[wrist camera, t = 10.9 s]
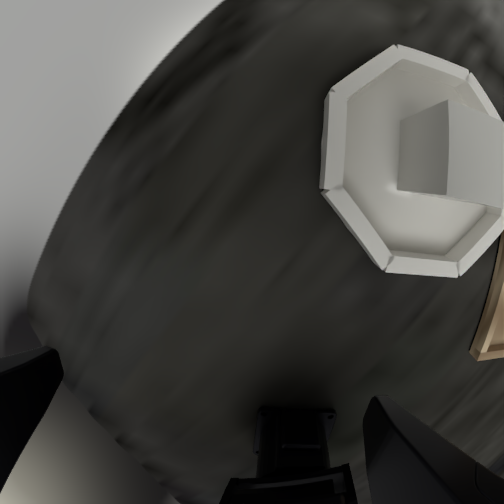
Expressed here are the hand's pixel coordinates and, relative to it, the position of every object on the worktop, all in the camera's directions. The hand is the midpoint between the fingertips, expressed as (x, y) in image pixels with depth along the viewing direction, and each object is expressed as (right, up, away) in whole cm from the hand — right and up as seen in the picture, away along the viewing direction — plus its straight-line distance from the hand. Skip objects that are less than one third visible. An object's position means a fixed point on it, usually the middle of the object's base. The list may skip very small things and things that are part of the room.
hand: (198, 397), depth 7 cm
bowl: (+13, +10, +10) cm, 18 cm away
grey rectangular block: (+12, +10, +9) cm, 18 cm away
